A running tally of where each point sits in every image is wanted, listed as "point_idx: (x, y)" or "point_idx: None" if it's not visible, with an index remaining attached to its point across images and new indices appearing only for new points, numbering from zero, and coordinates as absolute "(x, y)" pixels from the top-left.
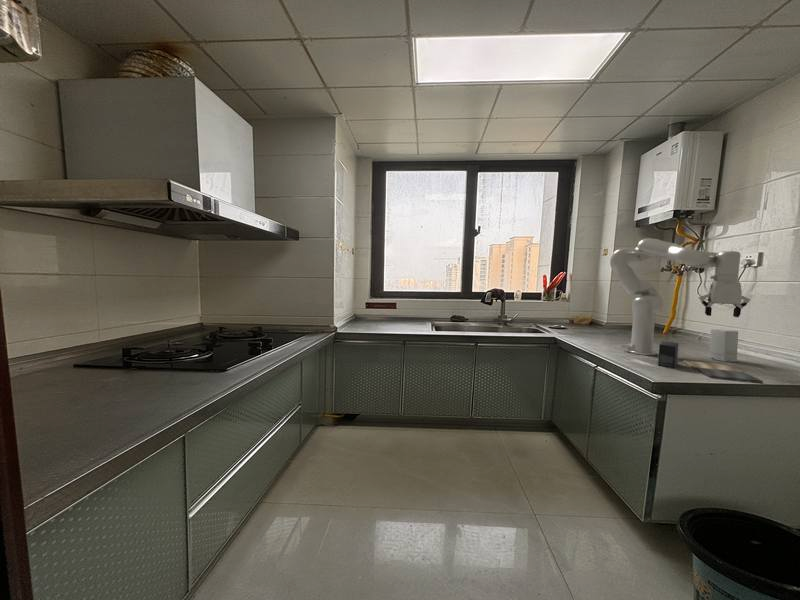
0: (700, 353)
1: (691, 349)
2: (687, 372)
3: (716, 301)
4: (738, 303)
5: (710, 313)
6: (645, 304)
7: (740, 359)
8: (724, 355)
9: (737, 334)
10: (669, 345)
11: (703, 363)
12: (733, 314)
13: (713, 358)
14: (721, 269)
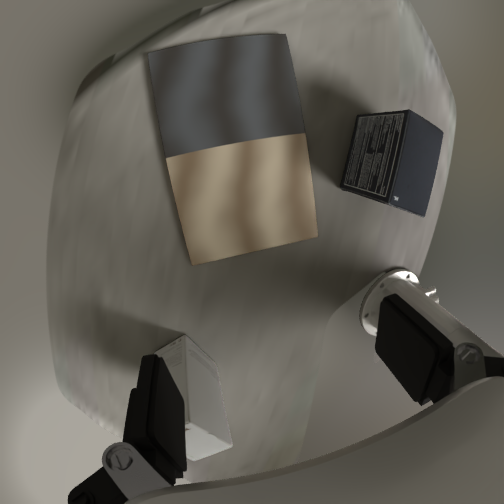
0: (229, 404)
1: (241, 431)
2: (332, 75)
3: (489, 397)
4: (146, 496)
5: (400, 305)
6: None
7: None
8: (186, 348)
9: None
10: (423, 119)
11: (263, 225)
12: (183, 413)
13: (208, 357)
14: None
